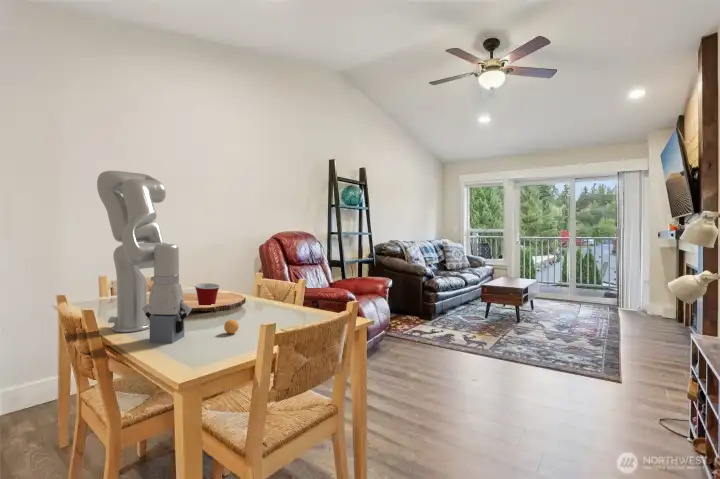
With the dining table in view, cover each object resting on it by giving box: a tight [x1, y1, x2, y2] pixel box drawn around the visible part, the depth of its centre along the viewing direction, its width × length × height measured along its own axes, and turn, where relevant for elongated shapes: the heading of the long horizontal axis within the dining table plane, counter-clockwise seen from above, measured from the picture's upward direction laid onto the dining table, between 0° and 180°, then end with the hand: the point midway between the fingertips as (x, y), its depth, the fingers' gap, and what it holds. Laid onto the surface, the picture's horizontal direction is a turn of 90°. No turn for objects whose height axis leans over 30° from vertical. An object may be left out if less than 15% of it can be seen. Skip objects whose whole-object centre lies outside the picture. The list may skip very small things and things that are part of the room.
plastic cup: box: [194, 282, 221, 306], centre depth 172 cm, size 11×11×12 cm
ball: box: [223, 319, 240, 335], centre depth 138 cm, size 5×5×5 cm
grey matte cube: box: [149, 310, 185, 344], centre depth 130 cm, size 8×8×9 cm
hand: (167, 331), depth 130 cm, fingers closed on grey matte cube, 7 cm apart
